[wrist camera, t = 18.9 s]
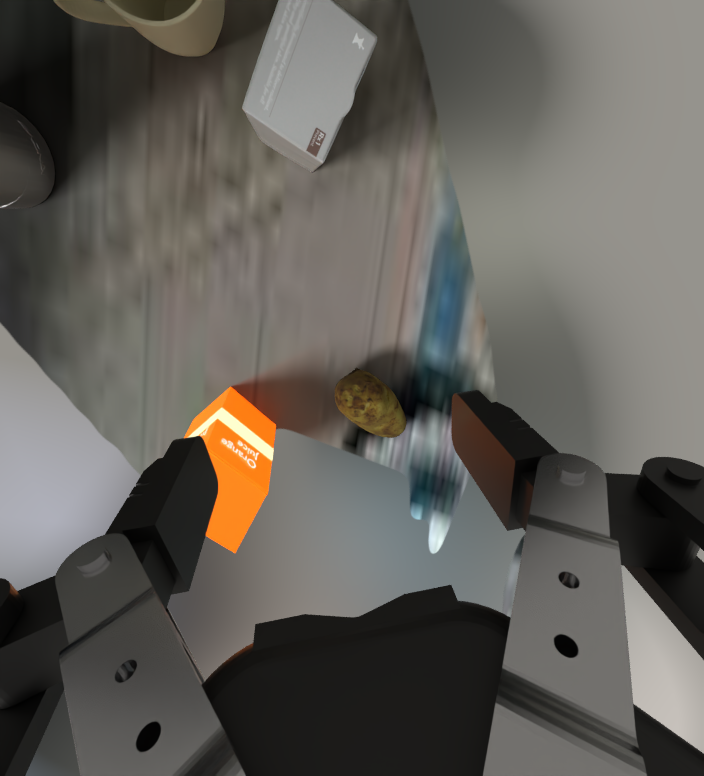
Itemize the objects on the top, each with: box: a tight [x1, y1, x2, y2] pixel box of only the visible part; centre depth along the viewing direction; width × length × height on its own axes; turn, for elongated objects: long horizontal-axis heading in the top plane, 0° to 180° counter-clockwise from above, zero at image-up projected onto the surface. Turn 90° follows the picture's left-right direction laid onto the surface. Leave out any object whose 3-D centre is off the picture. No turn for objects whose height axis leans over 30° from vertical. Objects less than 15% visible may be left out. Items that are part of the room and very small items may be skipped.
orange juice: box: [184, 387, 276, 553], centre depth 42 cm, size 8×9×20 cm
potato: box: [335, 368, 407, 438], centre depth 49 cm, size 8×13×8 cm, turn 19°
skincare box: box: [242, 0, 377, 173], centre depth 30 cm, size 8×7×16 cm
